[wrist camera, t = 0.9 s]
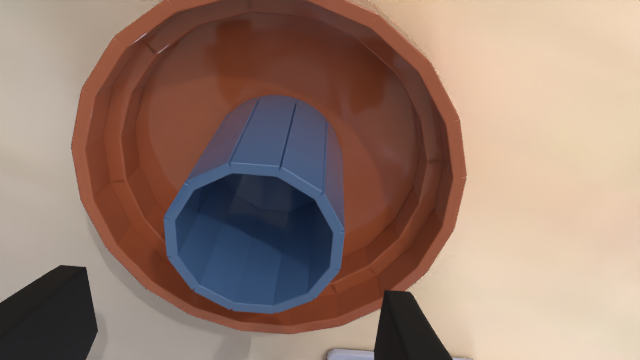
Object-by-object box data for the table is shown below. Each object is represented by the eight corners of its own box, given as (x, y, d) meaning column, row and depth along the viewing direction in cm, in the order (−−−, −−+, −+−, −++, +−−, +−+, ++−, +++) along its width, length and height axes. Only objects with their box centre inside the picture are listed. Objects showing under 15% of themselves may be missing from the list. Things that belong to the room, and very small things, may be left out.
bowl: (414, 291, 24) (427, 345, 20) (132, 270, 23) (101, 320, 20) (478, -11, 17) (509, 0, 14) (91, -42, 17) (37, -38, 14)
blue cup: (335, 214, 21) (334, 319, 15) (216, 205, 21) (170, 306, 15) (346, 99, 19) (352, 171, 13) (212, 89, 19) (156, 156, 13)
